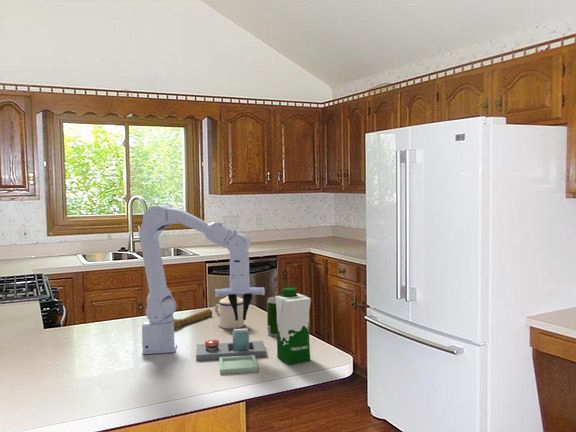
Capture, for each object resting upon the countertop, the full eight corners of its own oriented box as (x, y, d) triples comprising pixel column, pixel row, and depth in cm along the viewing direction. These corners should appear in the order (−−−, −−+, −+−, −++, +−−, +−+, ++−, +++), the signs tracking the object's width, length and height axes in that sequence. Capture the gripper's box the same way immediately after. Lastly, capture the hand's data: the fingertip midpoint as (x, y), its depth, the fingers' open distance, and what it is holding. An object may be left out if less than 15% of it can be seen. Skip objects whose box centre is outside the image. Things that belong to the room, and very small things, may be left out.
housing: (196, 360, 148) (196, 355, 148) (197, 349, 158) (197, 344, 158) (266, 356, 151) (266, 350, 151) (262, 345, 161) (262, 340, 161)
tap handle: (212, 309, 198) (157, 328, 172) (213, 317, 198) (157, 337, 172) (206, 308, 200) (150, 327, 174) (206, 316, 200) (150, 336, 174)
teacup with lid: (250, 324, 186) (249, 292, 185) (235, 330, 178) (234, 297, 177) (223, 320, 192) (222, 289, 191) (207, 326, 184) (206, 293, 183)
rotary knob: (233, 355, 152) (232, 332, 152) (232, 350, 157) (232, 327, 156) (249, 354, 153) (249, 331, 152) (248, 349, 158) (248, 326, 157)
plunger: (205, 355, 151) (205, 344, 151) (205, 351, 155) (205, 340, 155) (219, 354, 152) (218, 343, 152) (218, 350, 156) (218, 339, 156)
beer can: (273, 337, 170) (272, 301, 169) (264, 333, 174) (264, 298, 174) (286, 334, 173) (286, 298, 172) (278, 330, 177) (277, 296, 176)
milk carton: (299, 352, 154) (298, 285, 153) (315, 361, 146) (314, 291, 145) (273, 357, 150) (272, 288, 149) (287, 366, 142) (286, 294, 141)
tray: (220, 374, 137) (219, 369, 137) (219, 361, 147) (219, 357, 147) (257, 371, 139) (257, 367, 138) (254, 359, 148) (254, 355, 148)
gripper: (214, 277, 148) (215, 324, 149) (265, 275, 151) (266, 321, 151) (214, 273, 155) (215, 318, 156) (263, 271, 158) (263, 315, 158)
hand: (240, 319), depth 154 cm, fingers closed
